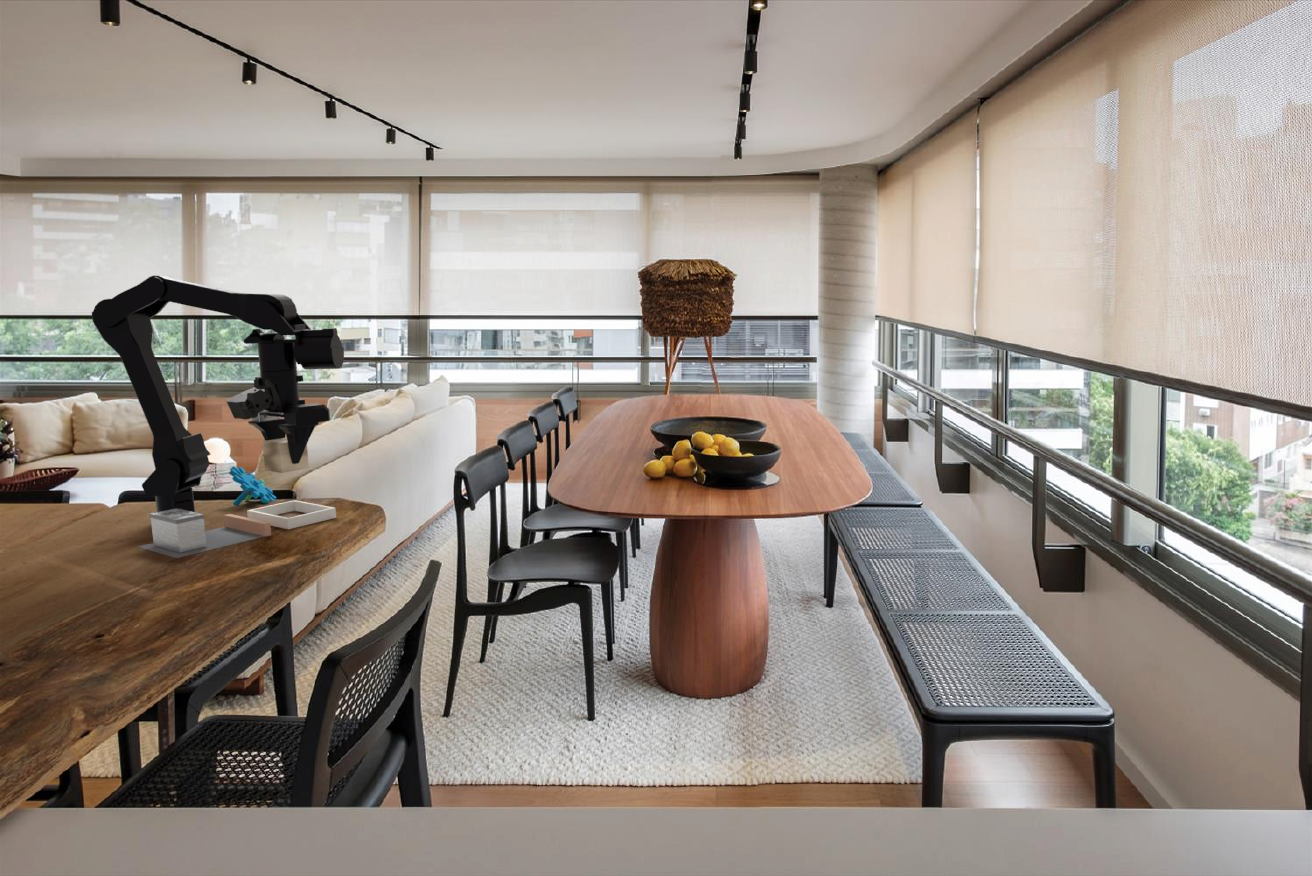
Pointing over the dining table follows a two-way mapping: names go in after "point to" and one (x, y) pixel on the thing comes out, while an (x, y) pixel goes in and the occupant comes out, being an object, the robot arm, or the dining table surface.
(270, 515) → the tray
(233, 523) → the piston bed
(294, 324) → the robot arm
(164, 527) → the grey square block
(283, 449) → the block
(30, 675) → the dining table surface
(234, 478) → the blue toy piece
